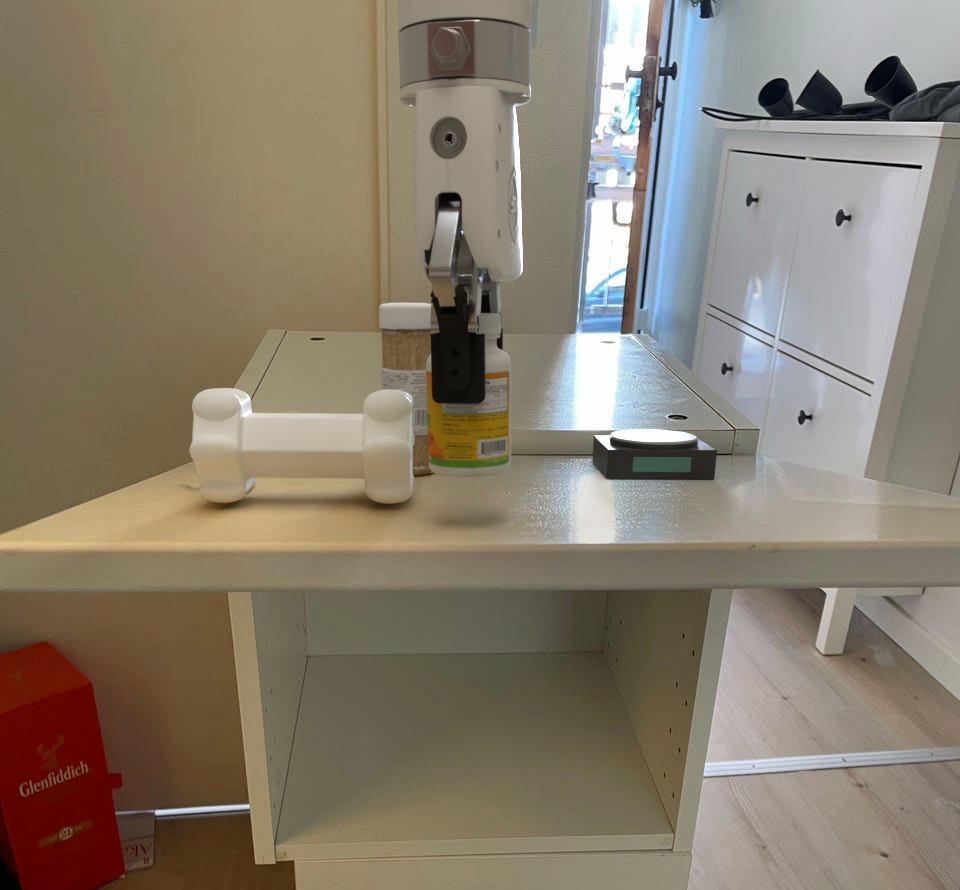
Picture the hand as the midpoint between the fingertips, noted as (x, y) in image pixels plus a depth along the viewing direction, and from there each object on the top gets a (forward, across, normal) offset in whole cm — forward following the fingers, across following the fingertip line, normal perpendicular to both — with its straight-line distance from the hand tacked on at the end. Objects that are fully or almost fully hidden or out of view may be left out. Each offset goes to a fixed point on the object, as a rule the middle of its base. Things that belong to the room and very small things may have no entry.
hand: (469, 393), depth 62 cm
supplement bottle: (+5, 0, 0) cm, 5 cm away
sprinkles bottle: (+9, +17, +9) cm, 21 cm away
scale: (+9, +23, -11) cm, 27 cm away
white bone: (+8, +4, +13) cm, 16 cm away
